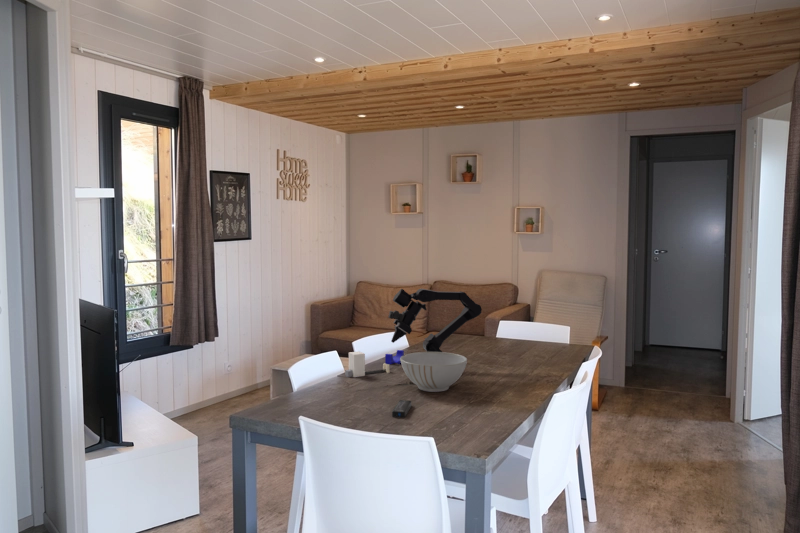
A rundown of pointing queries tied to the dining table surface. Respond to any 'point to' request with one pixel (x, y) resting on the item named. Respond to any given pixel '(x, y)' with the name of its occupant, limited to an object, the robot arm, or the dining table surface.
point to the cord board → (385, 369)
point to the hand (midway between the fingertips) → (392, 342)
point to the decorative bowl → (433, 369)
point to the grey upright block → (357, 363)
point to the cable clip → (396, 359)
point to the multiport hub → (401, 409)
